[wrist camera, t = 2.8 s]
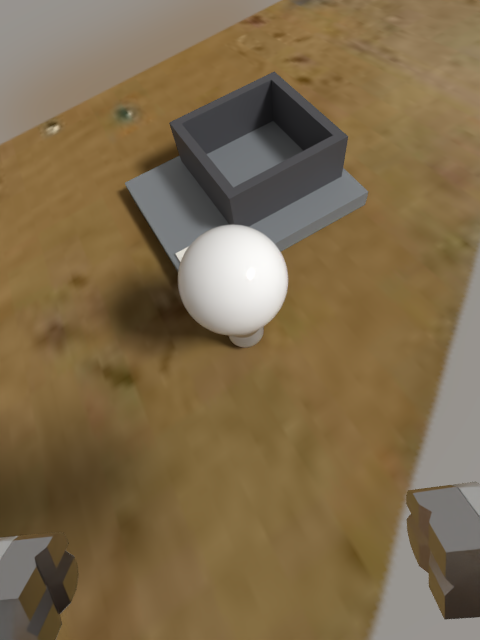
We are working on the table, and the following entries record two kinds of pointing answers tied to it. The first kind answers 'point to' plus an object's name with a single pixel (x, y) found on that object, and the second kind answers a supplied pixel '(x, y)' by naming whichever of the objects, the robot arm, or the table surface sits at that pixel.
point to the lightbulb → (233, 282)
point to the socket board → (249, 170)
